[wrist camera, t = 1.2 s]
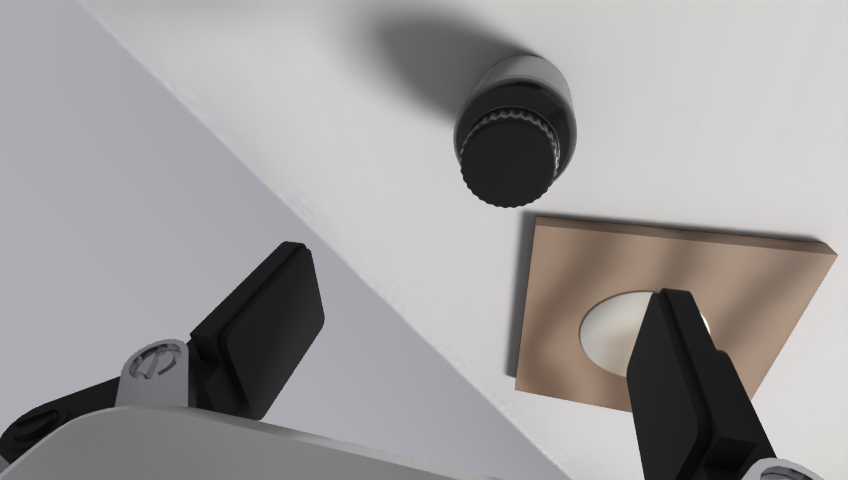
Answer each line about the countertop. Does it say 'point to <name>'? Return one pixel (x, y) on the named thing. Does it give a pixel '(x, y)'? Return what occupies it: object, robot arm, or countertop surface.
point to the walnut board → (630, 293)
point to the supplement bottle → (515, 131)
